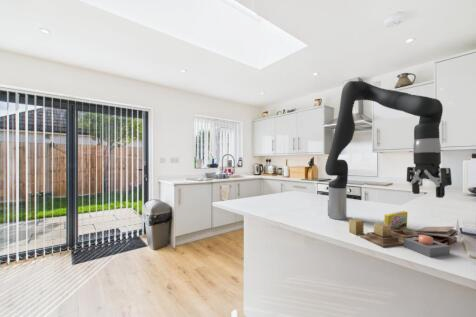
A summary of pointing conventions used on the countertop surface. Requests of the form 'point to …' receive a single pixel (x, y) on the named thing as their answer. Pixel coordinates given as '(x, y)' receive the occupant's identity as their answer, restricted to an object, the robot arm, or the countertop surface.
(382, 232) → the block
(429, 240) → the button
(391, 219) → the candy box
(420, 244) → the button housing
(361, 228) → the block
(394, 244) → the pallet
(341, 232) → the countertop surface
